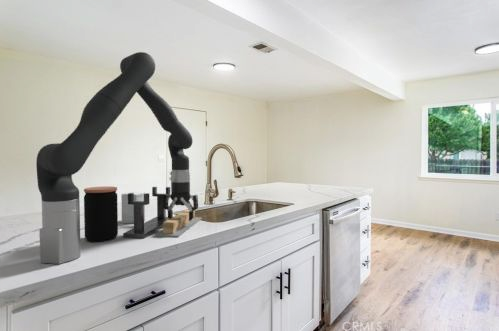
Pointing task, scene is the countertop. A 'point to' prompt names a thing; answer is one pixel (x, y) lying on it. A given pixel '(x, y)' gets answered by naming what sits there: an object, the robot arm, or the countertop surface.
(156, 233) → the mat
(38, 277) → the countertop surface
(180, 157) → the robot arm
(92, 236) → the coffee jar
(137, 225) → the rack
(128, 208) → the supplement box
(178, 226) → the rail
